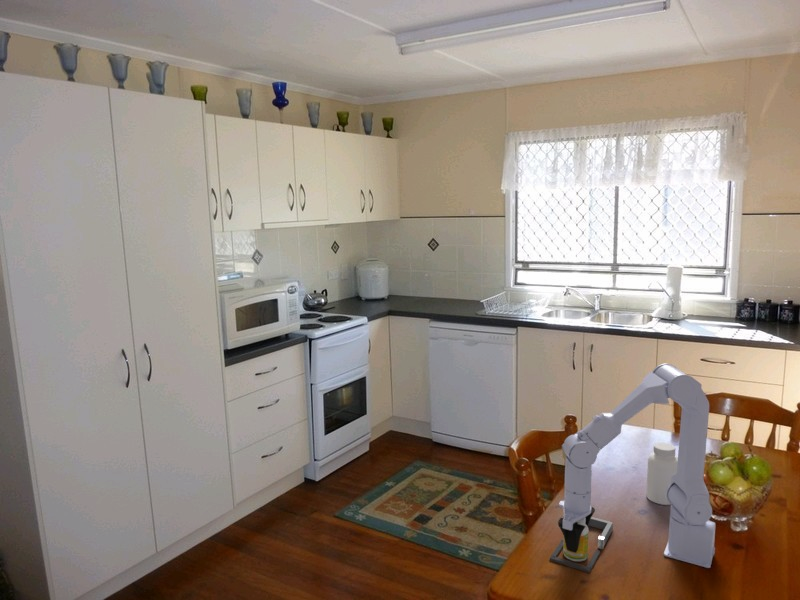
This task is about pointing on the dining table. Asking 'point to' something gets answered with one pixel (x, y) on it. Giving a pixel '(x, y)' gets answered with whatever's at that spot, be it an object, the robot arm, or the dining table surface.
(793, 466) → the dining table surface
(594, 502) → the dining table surface
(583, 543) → the supplement bottle
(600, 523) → the dispenser cradle
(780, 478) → the dining table surface
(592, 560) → the rubber frame
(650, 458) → the pill bottle
